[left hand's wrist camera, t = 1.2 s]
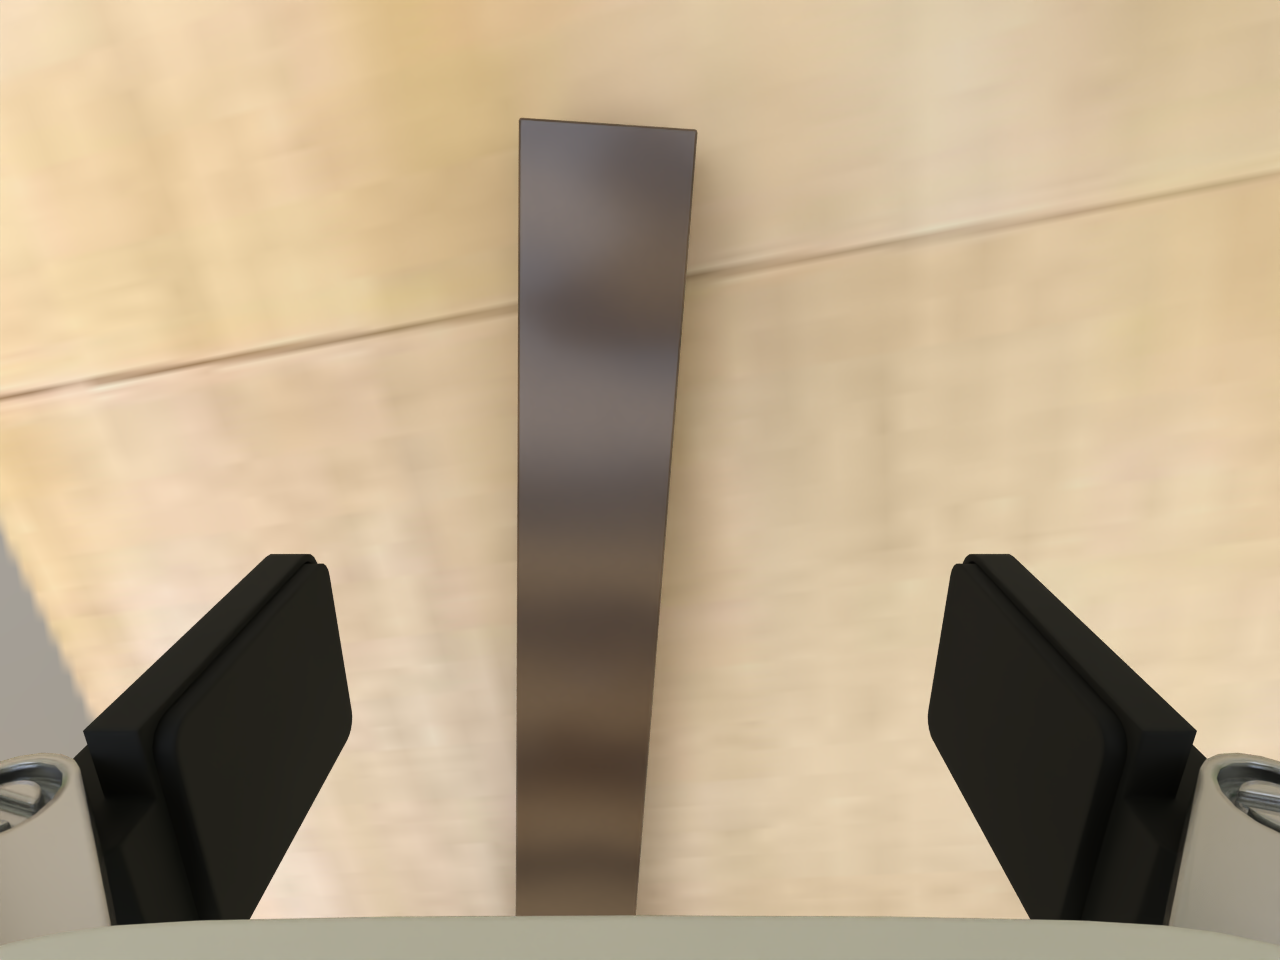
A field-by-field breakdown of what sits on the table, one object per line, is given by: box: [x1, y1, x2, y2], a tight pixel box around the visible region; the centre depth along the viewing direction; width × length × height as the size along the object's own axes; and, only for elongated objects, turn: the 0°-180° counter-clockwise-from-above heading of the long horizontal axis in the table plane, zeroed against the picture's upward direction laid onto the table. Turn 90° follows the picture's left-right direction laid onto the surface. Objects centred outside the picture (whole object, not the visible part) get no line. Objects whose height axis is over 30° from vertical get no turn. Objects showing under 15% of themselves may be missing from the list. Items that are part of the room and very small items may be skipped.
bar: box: [516, 118, 697, 916], centre depth 36 cm, size 51×6×7 cm, turn 177°
